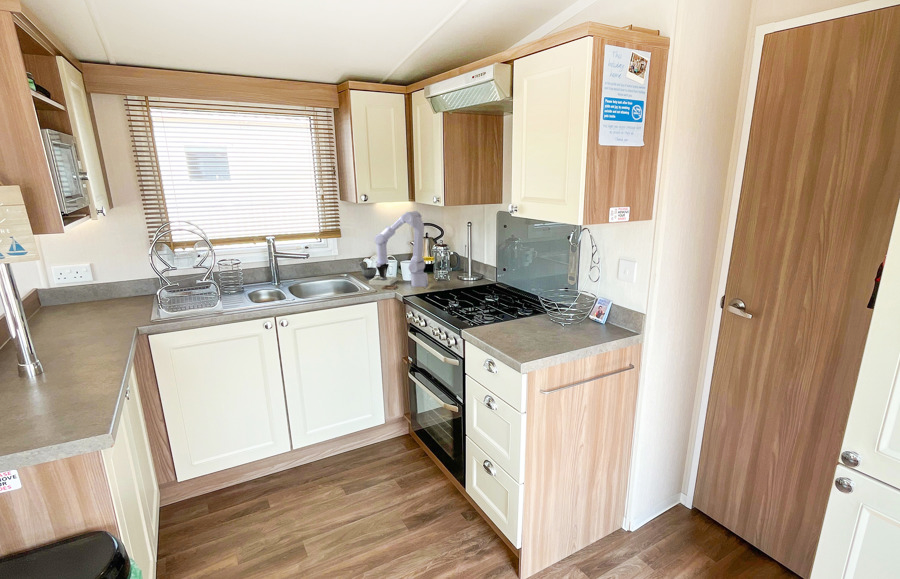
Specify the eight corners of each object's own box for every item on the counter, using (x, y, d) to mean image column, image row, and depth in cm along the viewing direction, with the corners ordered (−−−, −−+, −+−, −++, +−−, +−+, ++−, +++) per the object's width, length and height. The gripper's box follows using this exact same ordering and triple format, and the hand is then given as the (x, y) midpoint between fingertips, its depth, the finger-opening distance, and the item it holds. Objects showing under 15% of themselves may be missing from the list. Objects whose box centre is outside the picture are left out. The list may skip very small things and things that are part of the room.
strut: (383, 278, 270) (382, 267, 269) (388, 279, 268) (387, 268, 267) (379, 280, 267) (378, 268, 265) (384, 280, 265) (383, 269, 263)
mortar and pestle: (375, 277, 290) (374, 259, 287) (378, 279, 282) (377, 261, 279) (358, 278, 286) (357, 260, 283) (361, 281, 277) (360, 262, 275)
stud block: (400, 288, 257) (400, 284, 256) (395, 292, 247) (395, 288, 247) (384, 288, 259) (384, 284, 258) (378, 292, 249) (378, 288, 249)
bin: (397, 282, 273) (397, 276, 272) (390, 287, 261) (389, 281, 260) (377, 281, 276) (376, 276, 275) (369, 286, 263) (368, 280, 262)
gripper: (380, 252, 272) (381, 273, 275) (371, 256, 258) (372, 278, 261) (390, 252, 270) (391, 274, 273) (382, 256, 256) (383, 279, 260)
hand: (383, 276), depth 267 cm, fingers closed on strut, 3 cm apart
